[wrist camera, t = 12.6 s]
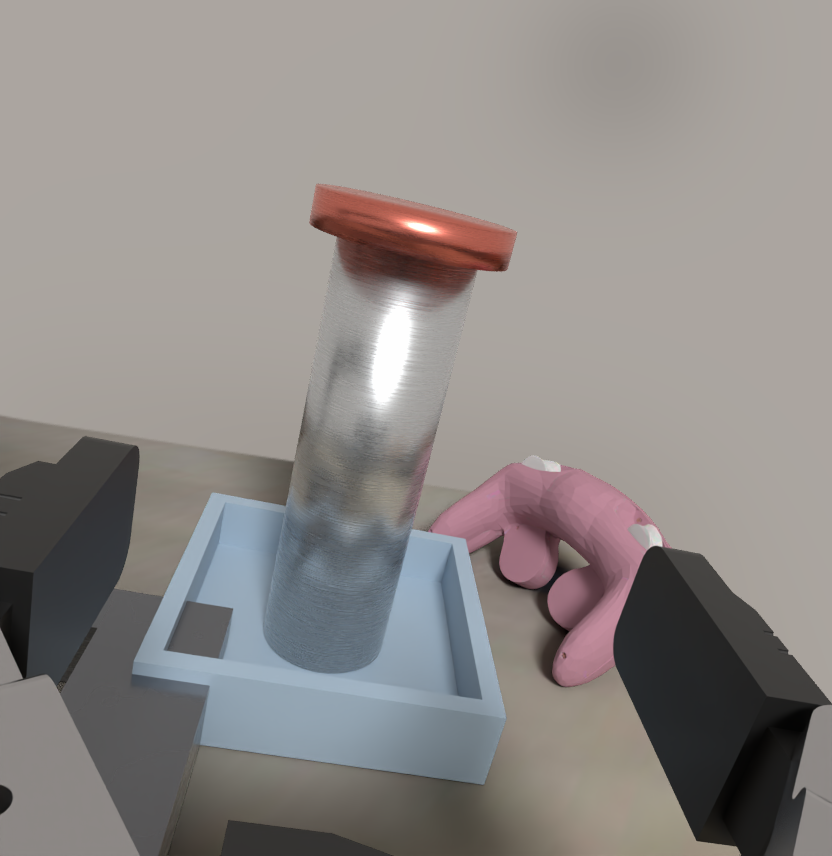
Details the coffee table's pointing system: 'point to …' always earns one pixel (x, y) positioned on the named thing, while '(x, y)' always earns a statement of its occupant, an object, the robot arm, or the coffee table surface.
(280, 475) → the coffee table surface
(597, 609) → the video game controller
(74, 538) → the robot arm
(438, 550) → the tray
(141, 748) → the hitch bracket
